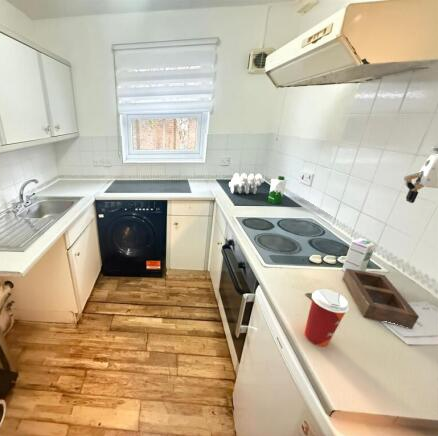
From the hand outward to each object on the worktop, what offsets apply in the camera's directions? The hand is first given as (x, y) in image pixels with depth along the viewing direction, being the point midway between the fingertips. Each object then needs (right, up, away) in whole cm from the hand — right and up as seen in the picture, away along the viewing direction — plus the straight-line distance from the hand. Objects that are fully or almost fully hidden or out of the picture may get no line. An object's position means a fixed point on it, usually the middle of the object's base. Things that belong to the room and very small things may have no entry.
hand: (428, 203), depth 80 cm
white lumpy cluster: (-12, +16, +125) cm, 127 cm away
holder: (-15, -34, +5) cm, 37 cm away
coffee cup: (-45, -40, -10) cm, 61 cm away
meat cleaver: (-36, -35, +3) cm, 50 cm away
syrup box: (-8, -28, +20) cm, 35 cm away
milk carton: (+3, +7, +103) cm, 103 cm away
